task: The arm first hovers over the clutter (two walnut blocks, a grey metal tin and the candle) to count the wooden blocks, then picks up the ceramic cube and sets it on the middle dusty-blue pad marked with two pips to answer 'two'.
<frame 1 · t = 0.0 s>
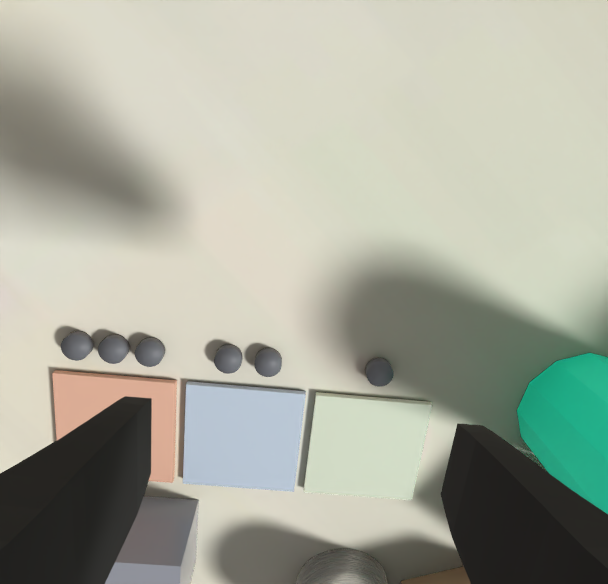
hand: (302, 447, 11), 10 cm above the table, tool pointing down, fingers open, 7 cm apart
marker cube: (159, 527, 24), on the table
candle: (576, 407, 23), on the table
grey tin: (341, 583, 26), on the table
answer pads: (242, 436, 22), on the table
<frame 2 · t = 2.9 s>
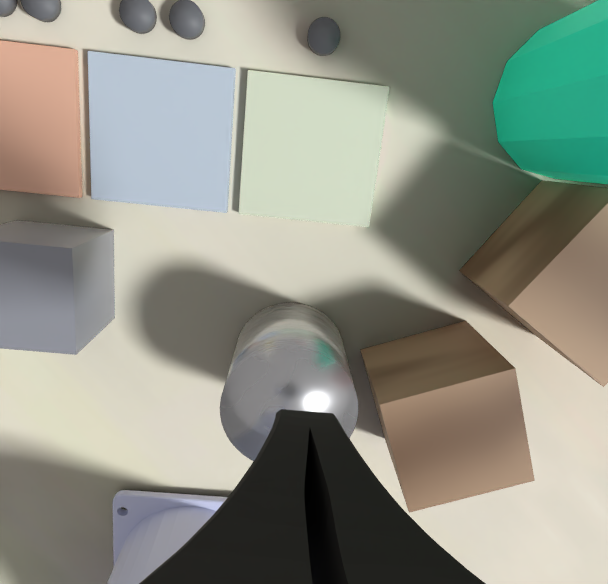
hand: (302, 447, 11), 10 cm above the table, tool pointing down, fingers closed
walnut block a: (423, 381, 22), on the table
marker cube: (68, 270, 20), on the table
walnut block b: (537, 261, 21), on the table
candle: (563, 102, 19), on the table
grey tin: (290, 353, 22), on the table
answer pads: (162, 136, 19), on the table
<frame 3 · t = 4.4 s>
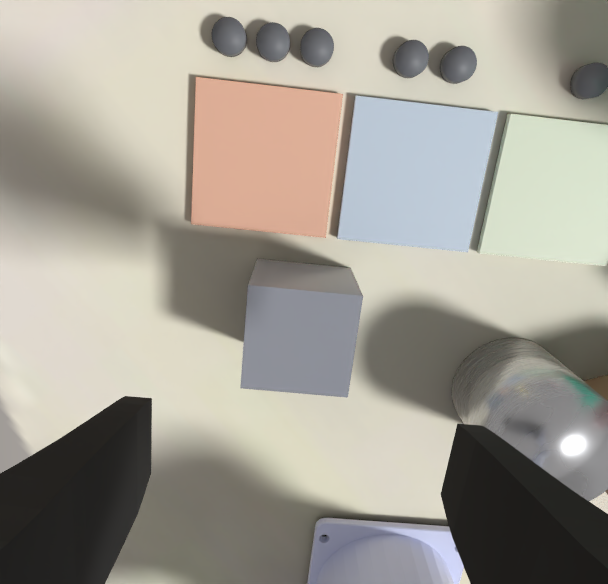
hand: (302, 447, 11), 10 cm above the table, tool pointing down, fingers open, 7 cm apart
marker cube: (299, 306, 20), on the table
grey tin: (504, 386, 22), on the table
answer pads: (413, 177, 19), on the table
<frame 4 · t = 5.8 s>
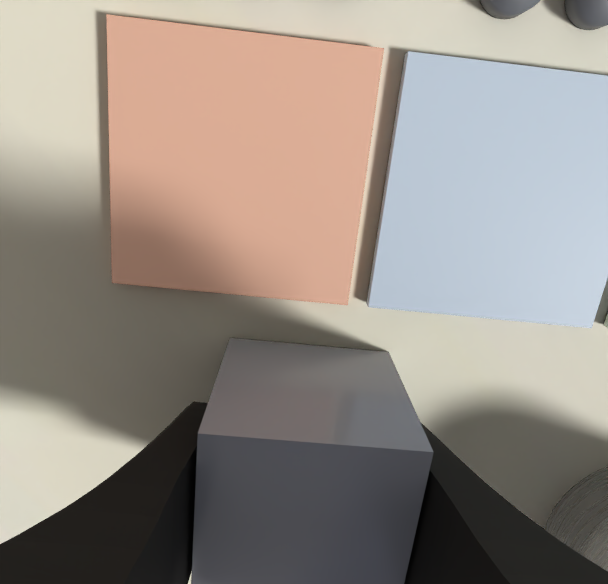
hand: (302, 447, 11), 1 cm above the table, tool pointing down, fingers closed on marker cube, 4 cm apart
marker cube: (301, 414, 12), on the table, touching gripper
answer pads: (502, 201, 11), on the table
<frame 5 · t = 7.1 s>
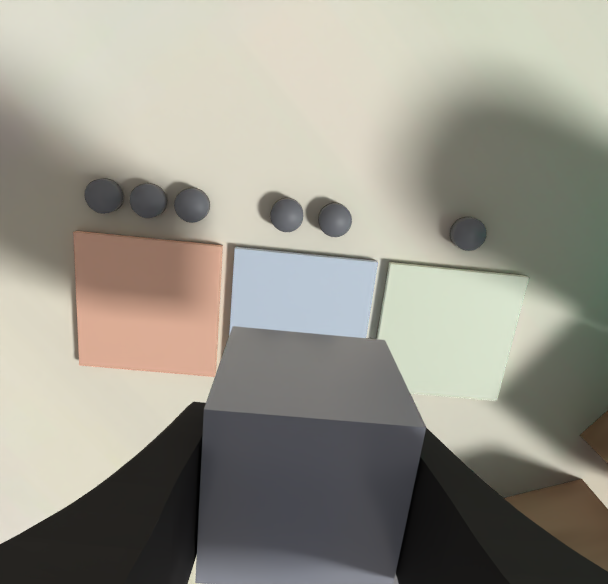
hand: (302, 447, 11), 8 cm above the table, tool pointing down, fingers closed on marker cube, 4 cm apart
walnut block a: (534, 531, 23), on the table
marker cube: (301, 400, 13), point 6 cm above the table, touching gripper
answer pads: (299, 319, 19), on the table
when the fingers open (3 cm above the table, at t = 8.5 s): marker cube stays where it is, resting on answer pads.
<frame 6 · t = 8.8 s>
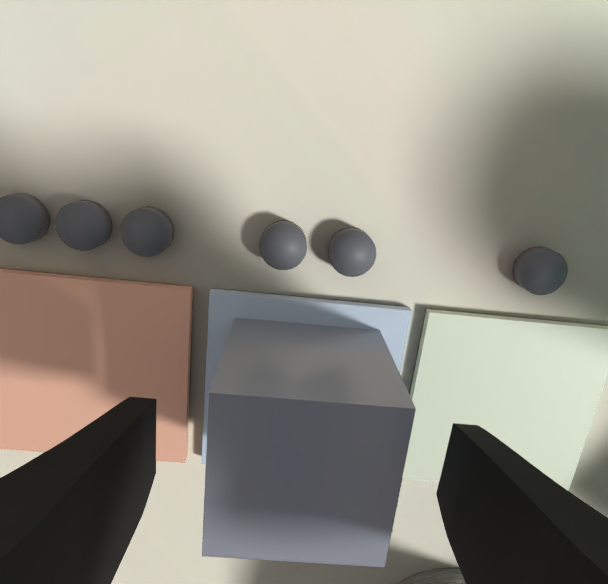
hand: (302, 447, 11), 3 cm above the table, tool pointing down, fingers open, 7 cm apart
marker cube: (300, 388, 13), resting on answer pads
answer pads: (301, 386, 14), on the table
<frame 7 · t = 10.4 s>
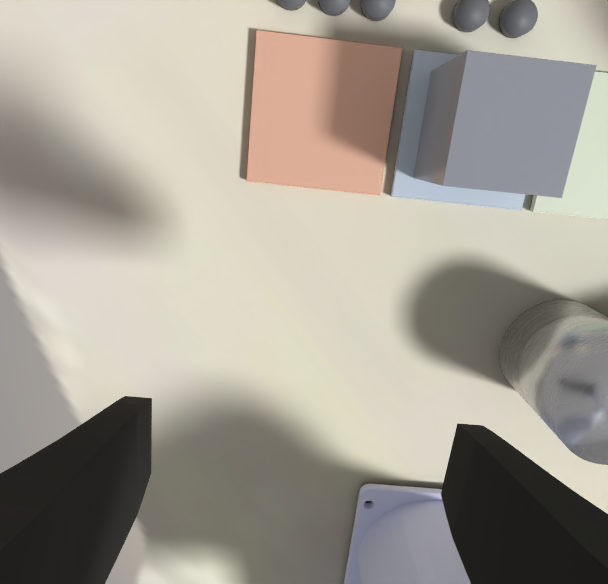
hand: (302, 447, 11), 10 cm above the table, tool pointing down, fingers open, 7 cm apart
marker cube: (471, 131, 18), resting on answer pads
grey tin: (552, 350, 22), on the table
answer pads: (468, 134, 19), on the table
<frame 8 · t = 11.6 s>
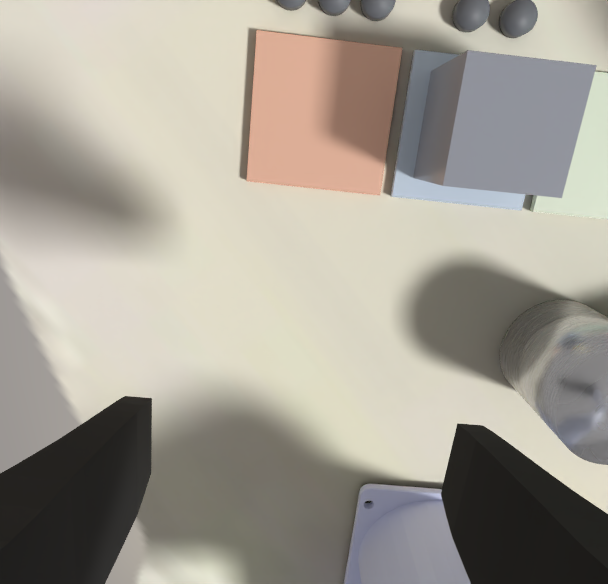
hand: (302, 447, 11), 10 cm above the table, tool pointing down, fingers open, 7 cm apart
marker cube: (471, 131, 18), resting on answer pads
grey tin: (552, 350, 22), on the table
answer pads: (468, 134, 19), on the table
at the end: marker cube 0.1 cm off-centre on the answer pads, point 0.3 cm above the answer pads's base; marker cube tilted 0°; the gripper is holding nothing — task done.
